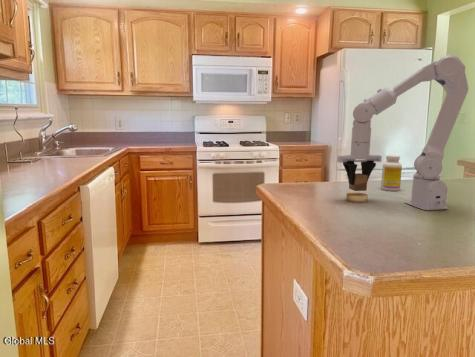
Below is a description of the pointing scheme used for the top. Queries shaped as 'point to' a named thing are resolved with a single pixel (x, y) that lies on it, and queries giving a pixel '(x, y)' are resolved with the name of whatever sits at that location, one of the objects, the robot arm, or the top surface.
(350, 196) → the maple plinth
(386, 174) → the supplement bottle
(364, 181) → the walnut block
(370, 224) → the top surface
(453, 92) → the robot arm
